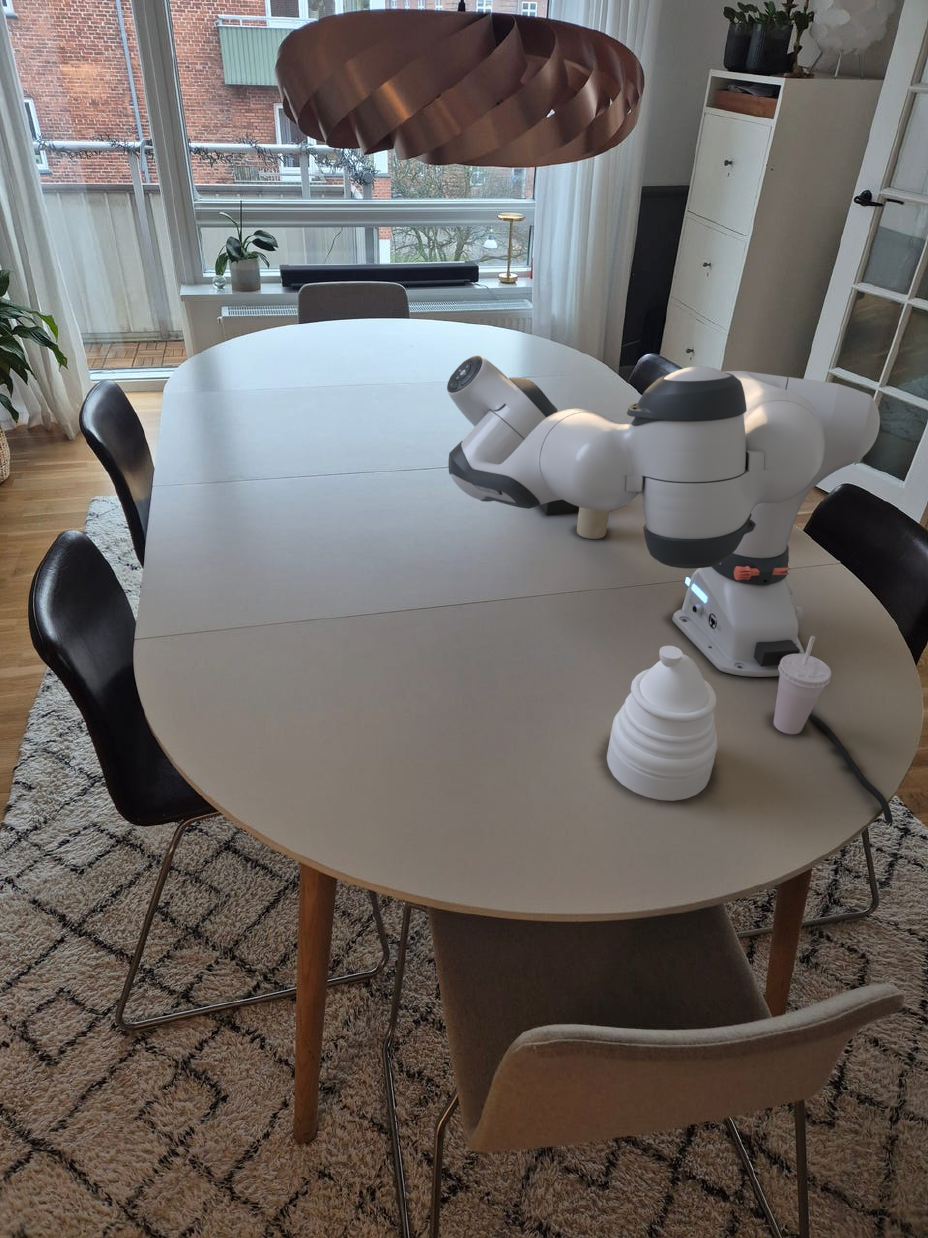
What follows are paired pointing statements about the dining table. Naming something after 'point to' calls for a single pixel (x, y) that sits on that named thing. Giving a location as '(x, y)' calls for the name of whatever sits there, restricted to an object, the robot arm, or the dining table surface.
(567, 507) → the box
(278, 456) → the dining table surface
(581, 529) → the candle
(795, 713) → the smoothie
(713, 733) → the honey pot
